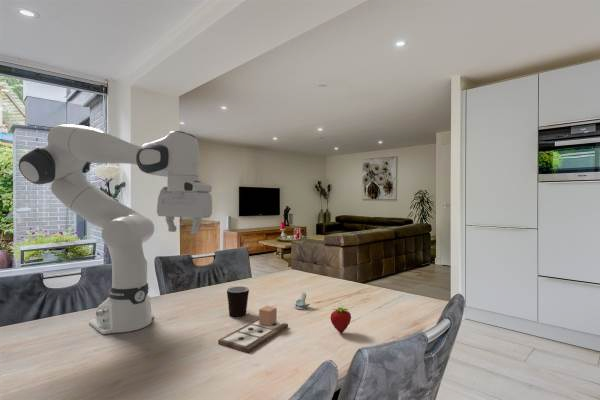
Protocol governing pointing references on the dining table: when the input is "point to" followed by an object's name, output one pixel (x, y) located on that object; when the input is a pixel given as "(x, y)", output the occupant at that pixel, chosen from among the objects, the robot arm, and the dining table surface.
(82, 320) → the dining table surface
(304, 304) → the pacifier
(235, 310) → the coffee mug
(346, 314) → the strawberry
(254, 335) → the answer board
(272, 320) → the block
